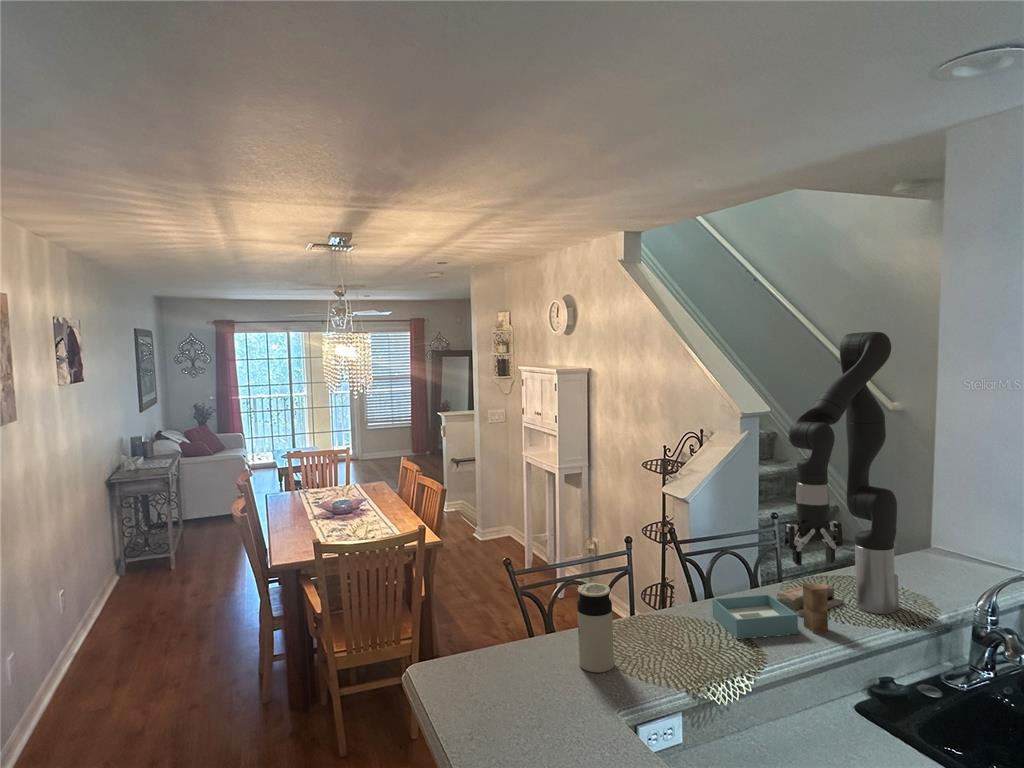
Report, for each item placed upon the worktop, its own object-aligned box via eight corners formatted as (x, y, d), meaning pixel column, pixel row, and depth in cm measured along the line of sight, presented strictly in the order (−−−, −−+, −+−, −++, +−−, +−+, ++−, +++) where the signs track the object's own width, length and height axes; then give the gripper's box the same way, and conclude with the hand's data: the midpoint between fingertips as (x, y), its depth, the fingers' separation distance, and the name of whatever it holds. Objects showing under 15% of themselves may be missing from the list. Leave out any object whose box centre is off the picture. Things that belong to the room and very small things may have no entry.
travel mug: (619, 661, 144) (616, 585, 143) (606, 676, 137) (603, 597, 136) (587, 654, 148) (585, 580, 147) (573, 669, 141) (570, 591, 140)
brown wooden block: (818, 625, 158) (817, 583, 158) (828, 631, 154) (826, 588, 154) (803, 626, 158) (802, 584, 157) (813, 633, 154) (811, 589, 153)
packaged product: (799, 601, 163) (769, 589, 172) (800, 619, 163) (770, 606, 172) (844, 587, 171) (813, 577, 180) (844, 604, 171) (813, 593, 180)
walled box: (769, 612, 167) (768, 594, 167) (798, 634, 153) (797, 614, 153) (712, 616, 166) (712, 598, 166) (737, 639, 152) (736, 620, 152)
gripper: (829, 495, 159) (831, 557, 160) (777, 498, 158) (779, 561, 158) (848, 502, 152) (849, 566, 152) (794, 505, 151) (795, 570, 151)
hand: (813, 563), depth 155 cm, fingers open, 8 cm apart
